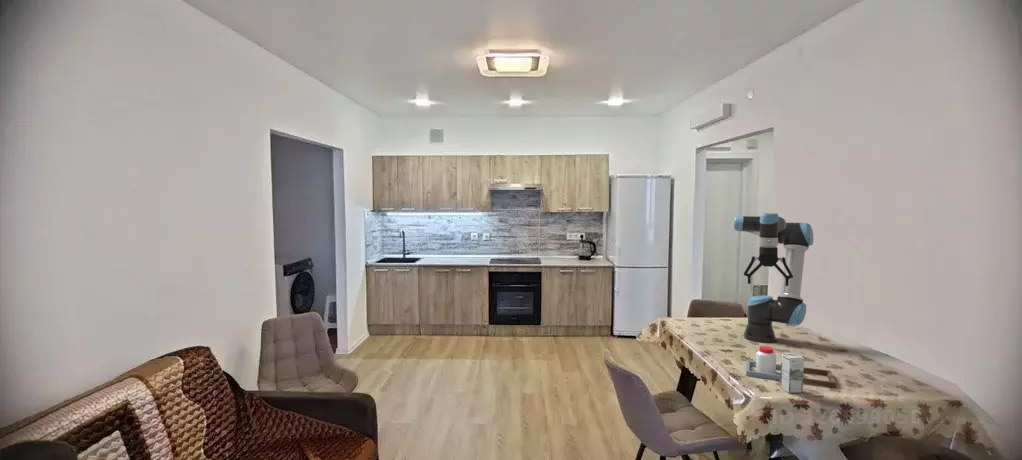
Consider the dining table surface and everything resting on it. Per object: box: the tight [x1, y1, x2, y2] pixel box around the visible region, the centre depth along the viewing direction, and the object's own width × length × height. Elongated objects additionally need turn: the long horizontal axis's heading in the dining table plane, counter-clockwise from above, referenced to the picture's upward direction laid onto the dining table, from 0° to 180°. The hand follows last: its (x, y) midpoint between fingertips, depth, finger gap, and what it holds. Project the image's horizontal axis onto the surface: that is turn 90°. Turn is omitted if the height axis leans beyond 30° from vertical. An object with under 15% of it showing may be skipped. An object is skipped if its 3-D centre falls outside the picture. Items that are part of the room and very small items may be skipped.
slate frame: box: [745, 359, 781, 381], centre depth 211 cm, size 15×15×2 cm
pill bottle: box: [755, 345, 777, 374], centre depth 211 cm, size 8×8×11 cm
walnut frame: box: [803, 366, 837, 389], centre depth 204 cm, size 15×15×2 cm
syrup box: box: [779, 352, 805, 394], centre depth 191 cm, size 6×6×14 cm
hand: (767, 291), depth 224 cm, fingers open, 13 cm apart
